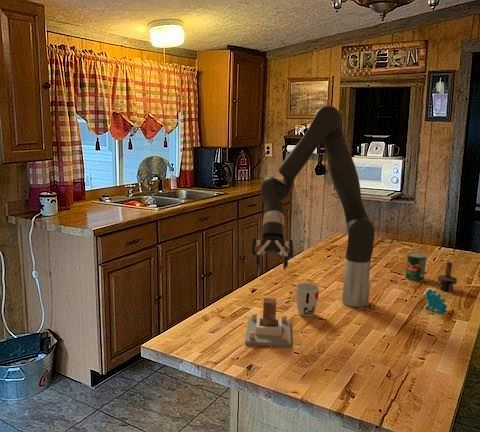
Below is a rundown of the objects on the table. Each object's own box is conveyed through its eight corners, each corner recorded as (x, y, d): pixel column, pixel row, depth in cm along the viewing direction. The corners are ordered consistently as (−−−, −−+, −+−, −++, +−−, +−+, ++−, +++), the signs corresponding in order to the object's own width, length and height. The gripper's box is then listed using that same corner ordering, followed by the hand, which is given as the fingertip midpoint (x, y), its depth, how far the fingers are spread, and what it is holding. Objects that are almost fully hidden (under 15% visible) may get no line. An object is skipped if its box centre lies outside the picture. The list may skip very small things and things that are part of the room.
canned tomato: (404, 280, 217) (406, 255, 215) (405, 274, 224) (408, 251, 222) (423, 282, 214) (426, 258, 212) (424, 277, 221) (427, 253, 219)
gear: (437, 314, 176) (423, 289, 181) (424, 321, 180) (411, 296, 185) (454, 311, 183) (440, 287, 187) (441, 318, 187) (428, 294, 191)
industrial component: (455, 294, 201) (459, 266, 199) (436, 291, 204) (439, 263, 201) (455, 287, 210) (458, 260, 207) (437, 284, 212) (440, 257, 210)
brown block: (274, 327, 162) (276, 298, 160) (274, 332, 158) (276, 303, 156) (262, 326, 163) (263, 297, 161) (262, 332, 159) (263, 302, 157)
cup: (303, 319, 172) (304, 292, 170) (290, 311, 179) (291, 284, 177) (322, 315, 176) (323, 289, 174) (308, 307, 183) (310, 281, 181)
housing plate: (289, 323, 169) (290, 312, 168) (291, 347, 151) (291, 336, 151) (248, 320, 170) (248, 310, 169) (245, 344, 152) (245, 333, 152)
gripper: (253, 219, 173) (250, 261, 164) (294, 221, 172) (293, 263, 163) (253, 231, 179) (250, 271, 171) (293, 232, 178) (292, 273, 170)
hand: (271, 267), depth 167 cm, fingers open, 8 cm apart
